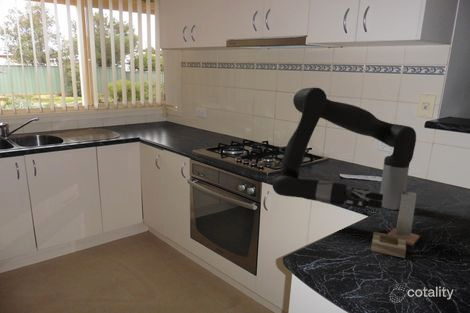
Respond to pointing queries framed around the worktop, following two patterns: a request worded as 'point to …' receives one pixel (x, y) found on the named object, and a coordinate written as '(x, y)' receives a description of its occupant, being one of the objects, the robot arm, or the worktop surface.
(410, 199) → the grey tapered block
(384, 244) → the socket block
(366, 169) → the worktop surface
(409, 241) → the tile
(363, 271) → the worktop surface
